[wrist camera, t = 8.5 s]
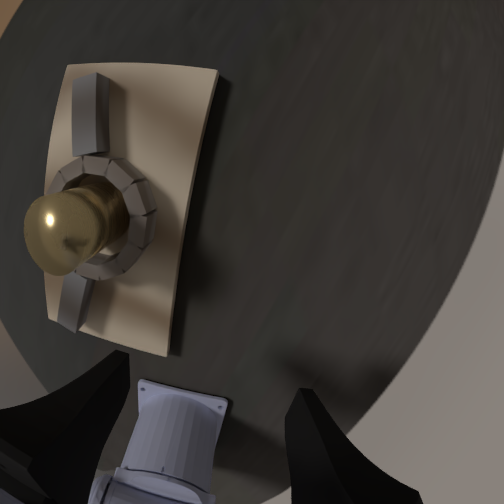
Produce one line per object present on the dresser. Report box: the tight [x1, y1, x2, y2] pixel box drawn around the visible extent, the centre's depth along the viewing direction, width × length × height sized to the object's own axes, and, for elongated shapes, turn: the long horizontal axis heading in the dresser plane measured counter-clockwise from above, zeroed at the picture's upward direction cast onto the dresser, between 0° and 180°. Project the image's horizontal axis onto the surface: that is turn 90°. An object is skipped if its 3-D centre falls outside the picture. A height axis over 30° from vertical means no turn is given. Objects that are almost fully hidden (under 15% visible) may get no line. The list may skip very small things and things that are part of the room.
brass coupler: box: [24, 182, 130, 276], centre depth 14 cm, size 4×4×6 cm
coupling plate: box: [44, 63, 219, 357], centre depth 17 cm, size 20×11×3 cm, turn 167°
